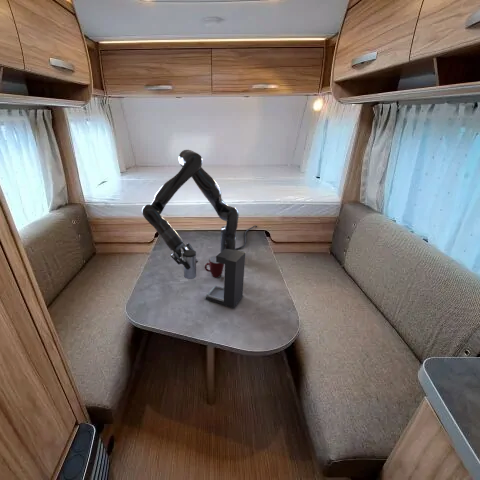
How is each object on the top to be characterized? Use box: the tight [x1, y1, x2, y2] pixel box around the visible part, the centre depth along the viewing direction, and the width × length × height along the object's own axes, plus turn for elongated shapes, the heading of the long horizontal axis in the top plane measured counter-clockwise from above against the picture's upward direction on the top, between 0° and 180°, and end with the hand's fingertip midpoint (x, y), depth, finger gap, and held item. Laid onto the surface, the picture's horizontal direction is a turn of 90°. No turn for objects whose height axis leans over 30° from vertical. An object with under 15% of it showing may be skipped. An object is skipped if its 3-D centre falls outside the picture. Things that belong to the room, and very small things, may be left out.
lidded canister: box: [183, 249, 197, 280], centre depth 130 cm, size 6×6×13 cm
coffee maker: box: [205, 249, 246, 309], centre depth 124 cm, size 15×11×24 cm
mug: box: [204, 256, 225, 279], centre depth 146 cm, size 11×8×10 cm
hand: (192, 265), depth 129 cm, fingers closed on lidded canister, 6 cm apart
